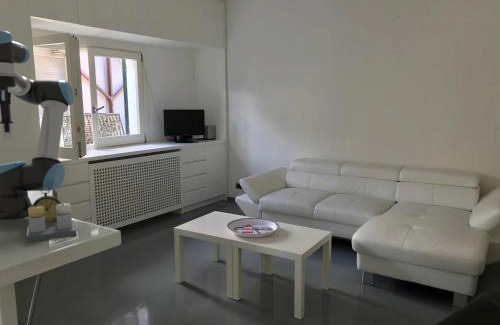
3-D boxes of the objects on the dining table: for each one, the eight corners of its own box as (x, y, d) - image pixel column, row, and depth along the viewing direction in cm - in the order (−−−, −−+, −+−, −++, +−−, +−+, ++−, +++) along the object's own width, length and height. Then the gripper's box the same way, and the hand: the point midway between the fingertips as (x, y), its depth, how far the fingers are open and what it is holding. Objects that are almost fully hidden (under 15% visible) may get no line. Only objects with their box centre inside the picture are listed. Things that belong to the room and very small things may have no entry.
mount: (27, 231, 150) (26, 213, 149) (73, 225, 158) (72, 208, 157) (26, 242, 138) (25, 222, 137) (76, 235, 145) (75, 216, 144)
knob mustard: (30, 227, 146) (28, 206, 145) (45, 226, 149) (43, 204, 148) (29, 231, 142) (27, 209, 141) (45, 229, 144) (43, 207, 143)
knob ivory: (56, 224, 150) (55, 203, 149) (71, 222, 153) (70, 202, 152) (57, 228, 146) (55, 206, 145) (72, 226, 148) (70, 204, 147)
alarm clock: (32, 229, 153) (29, 188, 151) (32, 225, 158) (29, 185, 155) (63, 225, 158) (61, 185, 156) (62, 222, 163) (60, 183, 161)
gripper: (-8, 76, 146) (-3, 140, 149) (-12, 73, 134) (-6, 143, 137) (15, 77, 149) (20, 139, 152) (13, 74, 138) (19, 142, 141)
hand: (8, 141), depth 145 cm, fingers closed
